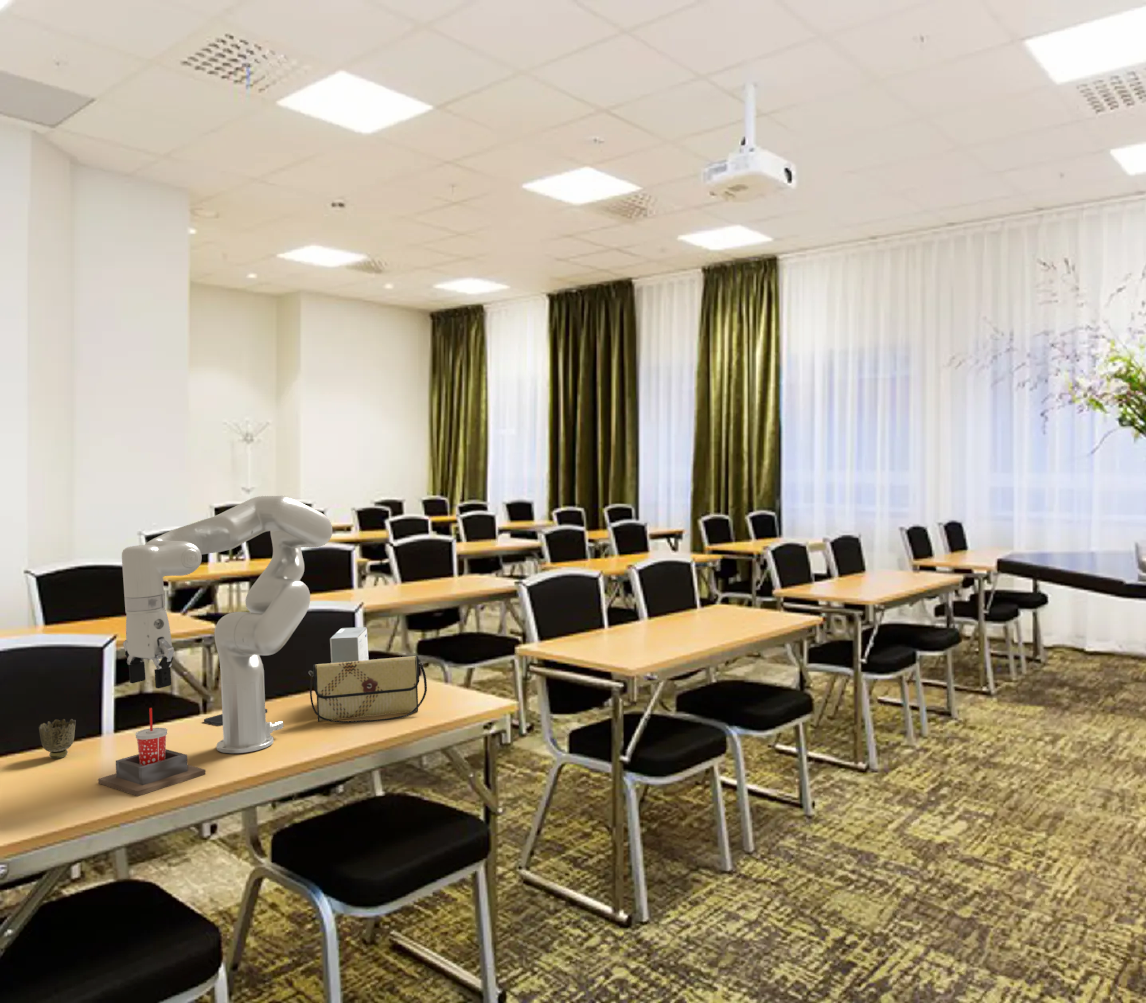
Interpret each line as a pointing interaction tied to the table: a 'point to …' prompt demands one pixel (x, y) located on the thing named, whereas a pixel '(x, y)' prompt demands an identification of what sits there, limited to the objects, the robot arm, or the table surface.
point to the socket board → (150, 774)
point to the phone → (217, 720)
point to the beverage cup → (151, 744)
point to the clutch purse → (367, 688)
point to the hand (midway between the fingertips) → (150, 684)
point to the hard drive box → (349, 645)
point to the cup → (57, 737)
